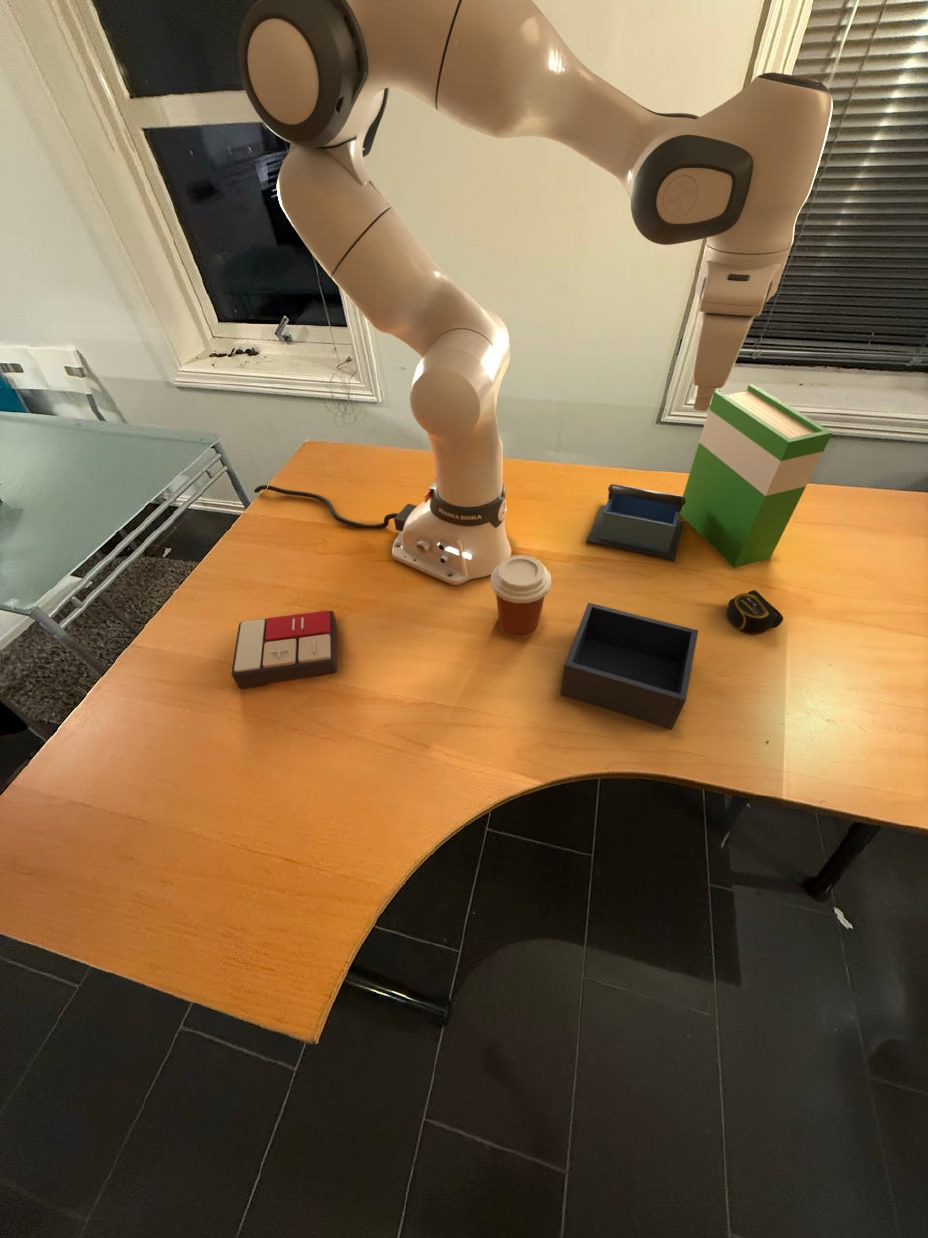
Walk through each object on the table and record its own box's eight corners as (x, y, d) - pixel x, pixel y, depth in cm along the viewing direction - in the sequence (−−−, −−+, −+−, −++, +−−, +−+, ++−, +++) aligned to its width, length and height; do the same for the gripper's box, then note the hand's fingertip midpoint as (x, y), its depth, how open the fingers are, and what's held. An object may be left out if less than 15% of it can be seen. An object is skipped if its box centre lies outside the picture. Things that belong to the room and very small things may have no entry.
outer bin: (559, 697, 76) (564, 665, 70) (582, 635, 84) (588, 602, 78) (671, 732, 71) (685, 700, 66) (684, 663, 79) (698, 630, 73)
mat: (586, 542, 99) (586, 540, 98) (601, 507, 106) (601, 504, 106) (674, 562, 94) (675, 559, 94) (683, 523, 101) (684, 520, 101)
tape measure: (779, 631, 82) (789, 615, 79) (741, 642, 81) (750, 626, 78) (750, 602, 87) (758, 585, 84) (714, 612, 85) (721, 596, 83)
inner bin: (595, 538, 99) (602, 498, 92) (607, 509, 105) (614, 470, 98) (670, 553, 95) (683, 513, 88) (678, 523, 100) (690, 483, 94)
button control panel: (333, 658, 78) (229, 672, 76) (338, 675, 81) (238, 689, 80) (332, 606, 86) (237, 618, 84) (337, 624, 89) (245, 636, 87)
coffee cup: (497, 649, 82) (497, 595, 74) (486, 608, 89) (484, 554, 80) (553, 640, 83) (560, 586, 74) (538, 600, 89) (543, 545, 80)
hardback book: (678, 511, 104) (714, 391, 86) (711, 504, 105) (753, 383, 87) (733, 568, 92) (788, 442, 74) (770, 558, 93) (832, 432, 76)
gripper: (719, 249, 68) (691, 359, 78) (699, 299, 56) (669, 423, 66) (772, 251, 66) (736, 364, 76) (764, 304, 54) (722, 431, 64)
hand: (705, 392), depth 71 cm, fingers open, 8 cm apart
